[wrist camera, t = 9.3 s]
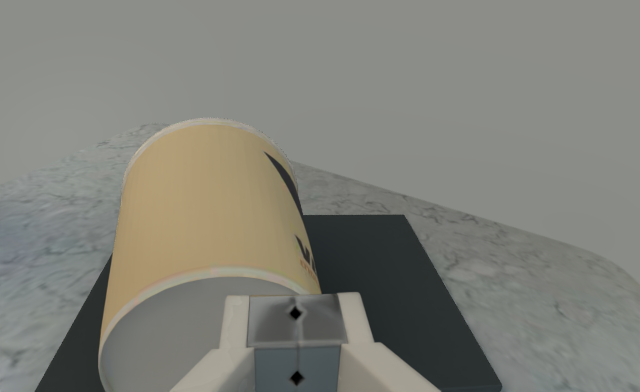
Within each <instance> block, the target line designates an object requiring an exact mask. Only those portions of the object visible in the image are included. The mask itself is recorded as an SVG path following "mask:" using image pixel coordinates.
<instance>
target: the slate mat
mask: <svg viewBox="0 0 640 392" xmlns="http://www.w3.org/2000/svg"><path fill="white" fill-rule="evenodd" d="M303 217H304V221H305V225H306V229H307V234H308V238H309V242H310V246H311V251H312V255H313V259H314V264H315V268H316V272H317V277H318V281H319V285H320V290H321V294H337V293H346V292H358V293H359V294H360V295H361V299H362V302H363V305H364V309H365V312H366V316H367V319H368V322H369V326H370V329H371V333H372V336H373V339H374V343H378V342H381V343H382V344H383V345H385V346H386V347H387V348H388V349H390V350H391V351H392V352H393V353H395V354H396V355H397V356H398V357H399V358H401V359H402V360H403V361H404V362H406V363H407V364H408V365H409V366H411V367H412V368H413V369H414V370H415V371H417V372H418V373H419V374H420V375H422V376H423V377H424V378H425V379H427V380H428V381H429V382H430V383H431V384H433V385H434V386H435V387H436V388H438V389H439V390H440V391H441V392H500V391H501V388H502V384H501V382H500V381H499V379H498V377H497V376H496V374H495V372H494V370H493V369H492V367H491V365H490V363H489V362H488V360H487V358H486V356H485V355H484V353H483V351H482V349H481V348H480V346H479V344H478V342H477V341H476V339H475V337H474V336H473V334H472V332H471V330H470V329H469V327H468V325H467V323H466V322H465V320H464V318H463V316H462V315H461V313H460V311H459V309H458V308H457V306H456V304H455V302H454V301H453V299H452V297H451V296H450V294H449V292H448V290H447V289H446V287H445V285H444V283H443V282H442V280H441V278H440V276H439V275H438V273H437V271H436V269H435V268H434V266H433V264H432V263H431V261H430V259H429V257H428V256H427V254H426V252H425V250H424V249H423V247H422V245H421V243H420V242H419V240H418V238H417V236H416V235H415V233H414V231H413V229H412V228H411V226H410V224H409V223H408V221H407V219H406V217H405V216H404V215H303ZM112 255H113V253H112ZM112 255H111V257H110V258H109V260H108V262H107V264H106V265H105V267H104V269H103V271H102V273H101V274H100V276H99V278H98V280H97V282H96V283H95V285H94V287H93V289H92V290H91V292H90V294H89V296H88V298H87V299H86V301H85V303H84V305H83V306H82V308H81V310H80V312H79V314H78V315H77V317H76V319H75V321H74V323H73V324H72V326H71V328H70V330H69V331H68V333H67V335H66V337H65V339H64V340H63V342H62V344H61V346H60V347H59V349H58V351H57V353H56V355H55V356H54V358H53V360H52V362H51V364H50V365H49V367H48V369H47V371H46V372H45V374H44V376H43V378H42V380H41V381H40V383H39V385H38V387H37V388H36V390H35V392H105V389H104V387H103V385H102V382H101V379H100V374H99V368H98V356H99V346H100V337H101V328H102V320H103V314H104V307H105V301H106V294H107V288H108V281H109V275H110V268H111V262H112Z"/></svg>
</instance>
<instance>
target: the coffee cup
mask: <svg viewBox="0 0 640 392" xmlns="http://www.w3.org/2000/svg"><path fill="white" fill-rule="evenodd" d="M308 294H321V290H320V285H319V281H318V277H317V272H316V268H315V264H314V259H313V255H312V251H311V246H310V242H309V238H308V234H307V229H306V225H305V221H304V217H303V213H302V209H301V205H300V201H299V197H298V188H297V181H296V177H295V173H294V170H293V168H292V165H291V163H290V161H289V159H288V158H287V156H286V155H285V154H284V152H283V151H282V149H281V148H280V147H279V146H278V145H277V144H276V143H275V142H274V141H273V140H272V139H271V138H270V137H268V136H267V135H265V134H264V133H263V132H261V131H259V130H257V129H256V128H254V127H251V126H249V125H247V124H244V123H241V122H238V121H234V120H229V119H222V118H197V119H191V120H186V121H182V122H179V123H176V124H173V125H171V126H169V127H166V128H164V129H163V130H161V131H159V132H157V133H156V134H154V135H153V136H152V137H150V138H149V139H148V140H147V141H146V142H145V143H144V144H143V145H142V146H141V147H140V148H139V149H138V150H137V151H136V153H135V154H134V156H133V157H132V159H131V160H130V162H129V164H128V166H127V168H126V171H125V174H124V177H123V182H122V188H121V207H120V213H119V219H118V225H117V231H116V237H115V243H114V249H113V255H112V262H111V268H110V275H109V281H108V288H107V294H106V301H105V307H104V314H103V320H102V328H101V337H100V346H99V356H98V368H99V374H100V379H101V382H102V385H103V387H104V389H105V392H169V391H170V390H171V389H172V388H173V387H174V386H175V385H176V384H177V383H178V382H179V381H180V380H181V379H182V378H183V377H184V376H185V375H186V374H187V373H188V372H189V371H190V370H191V369H192V368H193V367H194V366H195V365H196V364H197V363H198V362H199V361H200V360H201V359H202V358H203V357H204V356H205V355H206V354H207V353H208V352H209V351H210V350H211V349H219V344H220V337H221V329H222V322H223V315H224V307H225V300H226V298H227V296H228V295H249V296H250V295H308Z"/></svg>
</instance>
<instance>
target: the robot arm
mask: <svg viewBox="0 0 640 392" xmlns="http://www.w3.org/2000/svg"><path fill="white" fill-rule="evenodd" d="M169 392H441V391H440V390H439V389H438V388H436V387H435V386H434V385H433V384H431V383H430V382H429V381H428V380H427V379H425V378H424V377H423V376H422V375H420V374H419V373H418V372H417V371H415V370H414V369H413V368H412V367H411V366H409V365H408V364H407V363H406V362H404V361H403V360H402V359H401V358H399V357H398V356H397V355H396V354H395V353H393V352H392V351H391V350H390V349H388V348H387V347H386V346H385V345H383V344H382V343H381V342H378V343H374V339H373V336H372V333H371V329H370V326H369V322H368V319H367V316H366V312H365V309H364V305H363V302H362V299H361V295H360V294H359V293H358V292H346V293H337V294H308V295H250V296H249V295H228V296H227V298H226V300H225V307H224V315H223V322H222V329H221V337H220V344H219V349H211V350H210V351H209V352H208V353H207V354H206V355H205V356H204V357H203V358H202V359H201V360H200V361H199V362H198V363H197V364H196V365H195V366H194V367H193V368H192V369H191V370H190V371H189V372H188V373H187V374H186V375H185V376H184V377H183V378H182V379H181V380H180V381H179V382H178V383H177V384H176V385H175V386H174V387H173V388H172V389H171V390H170V391H169Z"/></svg>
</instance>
